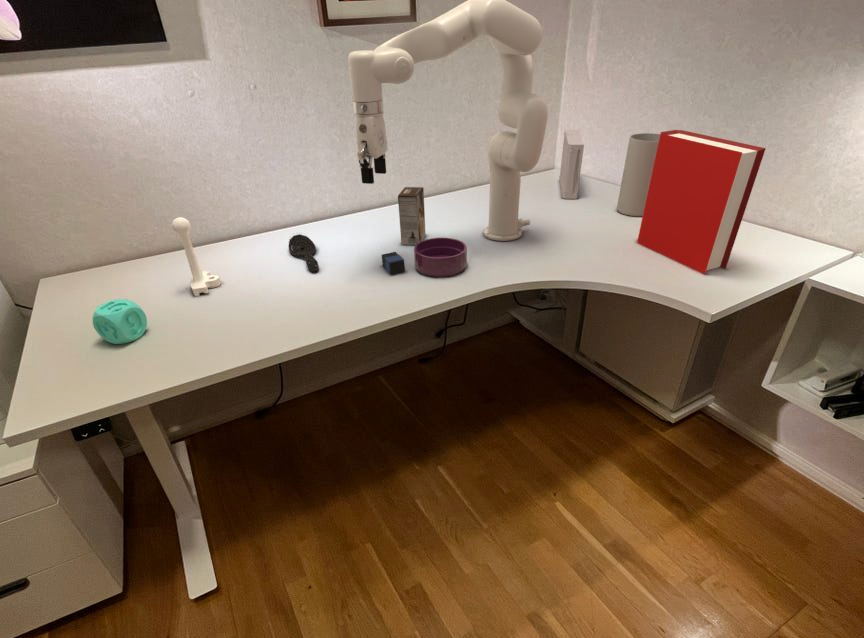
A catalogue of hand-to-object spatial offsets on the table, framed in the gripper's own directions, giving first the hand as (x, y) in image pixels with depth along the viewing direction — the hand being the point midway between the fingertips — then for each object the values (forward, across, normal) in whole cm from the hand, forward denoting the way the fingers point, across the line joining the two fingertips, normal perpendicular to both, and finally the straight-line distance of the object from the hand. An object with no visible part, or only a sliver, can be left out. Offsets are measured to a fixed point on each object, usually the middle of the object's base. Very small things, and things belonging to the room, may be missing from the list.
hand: (374, 178), depth 136 cm
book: (+25, +24, -85) cm, 92 cm away
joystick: (+26, -23, +45) cm, 56 cm away
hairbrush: (+26, +1, +25) cm, 36 cm away
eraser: (+25, -2, -4) cm, 26 cm away
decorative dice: (+26, -50, +48) cm, 74 cm away
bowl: (+25, +2, -18) cm, 31 cm away
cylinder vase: (+25, +61, -75) cm, 100 cm away
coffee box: (+26, +21, -4) cm, 33 cm away
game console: (+25, +85, -50) cm, 102 cm away
